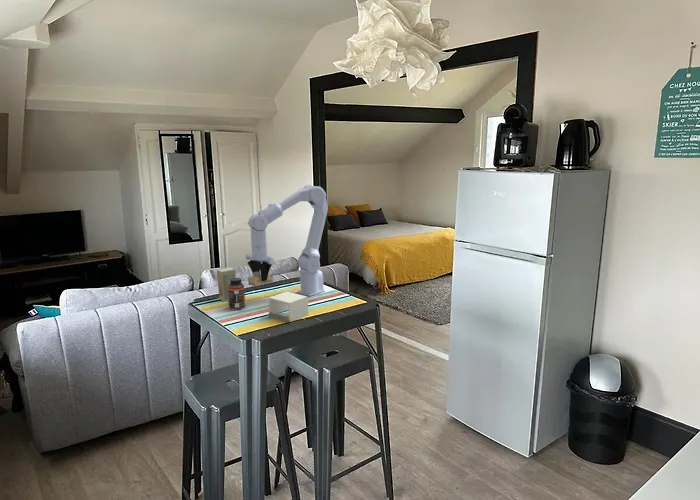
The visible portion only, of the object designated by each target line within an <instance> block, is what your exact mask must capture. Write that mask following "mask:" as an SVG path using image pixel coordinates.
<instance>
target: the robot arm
mask: <svg viewBox="0 0 700 500" xmlns="http://www.w3.org/2000/svg"><path fill="white" fill-rule="evenodd" d="M327 200H328V199H327V193H326V191H325V190H324V189H323V187H321V186H320V185H319V186H318V185H317V186H315V185H311V184H307V185H304V186H303V187H301V188H299V189H298V190H297V191H295V192H294V193H292V194H291V195H290V196H288V197H286V198H285V199H283V200H282V201H281V202H279V203H275V202H274V203H269V204H268V205H267V207H265V208H264V209H262V210H259V211H257V213H258V214H257V213H256V214H255V213H254V214H252V215H250V217H249V219H248V221H247V224H248V227H250V240H251V241H250V242H251V243H250V246H251V253H247V254H245V260H248V261H247V265H248V266H249V268H250V271H251V273H252V274H253V272H259V274H261V279H262V281H265V280H267V278H268V273H270V271H271V268H272V266H273V264H275V258H273V257H270V256H268V251H267V250H268V248H267V233H266V232H267V231H266V229H267V227H268V225H270V224H271V223H273V222H274V221H276V220H277V219H279V218H281V217H282V216H283V212H284V211H286V210H288V209H289V208H291V207H293V206H294V205H296V204H298V203H300V202H308V203H309V205H310V206H311V208H313V215H312V218H311V221H310V222H311V223H310V227H309V231H308V235H307V240H306V244H305V247H304V248H303V249H302V251H301V254H300V255H299V257H298V258H297V266H298V267H299V268H300V269H299V272H300V274H299V278H300V282H299V283H300V290H297V291H295V294H299V295H303V296H307V297H308V296H309V297H312V296H313V295H314V296H315V295H317V294H320V293H323V292H326V289H324V275H323V272H322V271H321V270H320V267H321V263H320V258H321V255H320V251H319V248H320V244H321V240H322V235H323V231H324V227H325V225H326V220H327V215H328V210H329V207H328V202H327Z"/></svg>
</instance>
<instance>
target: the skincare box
mask: <svg viewBox="0 0 700 500" xmlns="http://www.w3.org/2000/svg"><path fill="white" fill-rule="evenodd" d="M236 274H237V273H236V269H235V268H233V267H225V268H221V269H217V270H216V275H217V288H218V299H219V300H221V301H222V302H227V301H228V302H229V295H228V286H229V285H230V284H231V283H230V279H232V278H237V275H236Z"/></svg>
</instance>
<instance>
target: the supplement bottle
mask: <svg viewBox="0 0 700 500" xmlns="http://www.w3.org/2000/svg"><path fill="white" fill-rule="evenodd" d="M230 283H231V284H230V285H229V286H228V295H229V300H228V308H229V309H230V310H232V311H233V310H234V311H240V310H242V309H244V308H246V297H245V296H246V295H245V294H246V293H245V284H243V281H242V278H240V277H236V278H232V279H230Z"/></svg>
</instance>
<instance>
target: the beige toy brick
mask: <svg viewBox="0 0 700 500" xmlns="http://www.w3.org/2000/svg"><path fill="white" fill-rule="evenodd" d="M273 276H274V275H273V273H270V272H269V273H268V278H267V280H265V281H262V279H261V273H260V274H259V272H253V273H252V276H248V277H247V282H248V286H252V287H258V286H261V285H265V284H266V285H267V284H268V283H269V284H270V283H272V282H274V279H273Z"/></svg>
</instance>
